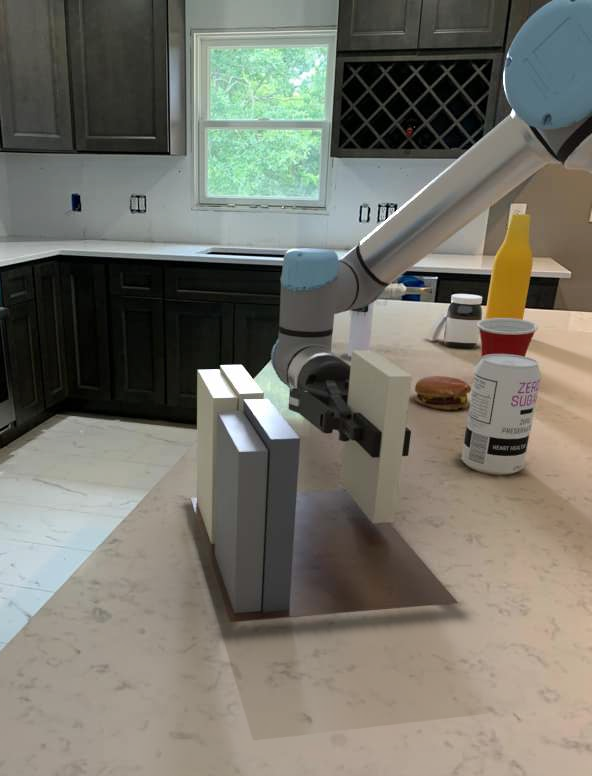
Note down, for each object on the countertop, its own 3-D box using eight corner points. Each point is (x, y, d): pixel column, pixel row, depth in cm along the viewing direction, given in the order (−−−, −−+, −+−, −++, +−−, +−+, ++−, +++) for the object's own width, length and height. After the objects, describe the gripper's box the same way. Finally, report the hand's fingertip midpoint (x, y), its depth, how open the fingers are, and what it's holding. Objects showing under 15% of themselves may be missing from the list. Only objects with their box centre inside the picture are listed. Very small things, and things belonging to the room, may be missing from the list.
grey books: (262, 550, 74) (268, 398, 68) (289, 610, 64) (300, 438, 58) (214, 554, 73) (216, 400, 67) (234, 614, 63) (239, 440, 57)
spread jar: (479, 351, 168) (487, 300, 163) (429, 348, 170) (435, 297, 165) (472, 341, 179) (479, 292, 174) (425, 338, 180) (431, 290, 176)
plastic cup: (457, 384, 141) (466, 321, 137) (484, 374, 148) (494, 315, 144) (510, 396, 134) (522, 330, 130) (536, 386, 141) (548, 323, 137)
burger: (417, 394, 134) (420, 369, 132) (469, 400, 131) (473, 375, 129) (410, 409, 125) (413, 382, 124) (466, 416, 123) (470, 389, 121)
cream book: (359, 482, 88) (372, 350, 81) (394, 522, 78) (412, 375, 71) (339, 483, 87) (351, 350, 81) (372, 523, 77) (389, 376, 71)
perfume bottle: (351, 354, 162) (359, 261, 155) (375, 358, 160) (385, 263, 152) (340, 359, 158) (347, 263, 150) (364, 363, 155) (373, 266, 147)
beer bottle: (474, 334, 187) (493, 213, 176) (493, 329, 193) (512, 213, 181) (508, 340, 181) (529, 215, 169) (526, 335, 186) (548, 215, 175)
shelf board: (359, 499, 90) (360, 488, 89) (455, 616, 66) (458, 602, 66) (189, 509, 86) (189, 497, 86) (228, 636, 63) (229, 622, 62)
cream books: (237, 498, 86) (241, 364, 80) (257, 541, 76) (264, 392, 70) (196, 500, 85) (197, 365, 79) (211, 544, 75) (213, 394, 69)
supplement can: (468, 452, 106) (485, 350, 101) (528, 463, 103) (548, 358, 97) (453, 469, 100) (470, 361, 94) (516, 482, 96) (537, 370, 90)
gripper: (376, 408, 98) (457, 474, 77) (264, 411, 96) (315, 482, 74) (382, 353, 95) (467, 406, 74) (266, 355, 93) (321, 411, 71)
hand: (391, 444), depth 74 cm, fingers closed on cream book, 2 cm apart
